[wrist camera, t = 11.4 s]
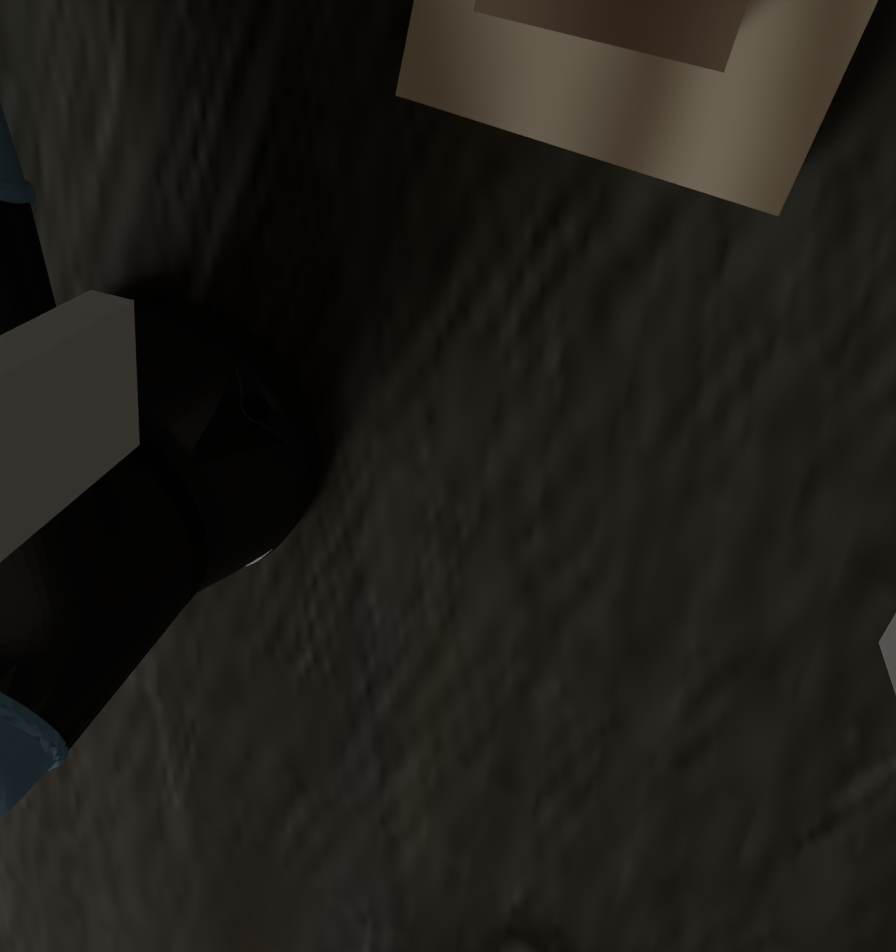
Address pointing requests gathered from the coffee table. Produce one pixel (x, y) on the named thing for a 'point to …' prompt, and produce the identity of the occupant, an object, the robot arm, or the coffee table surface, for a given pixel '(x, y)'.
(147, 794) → the coffee table surface
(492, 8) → the walnut block
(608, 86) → the oak block
